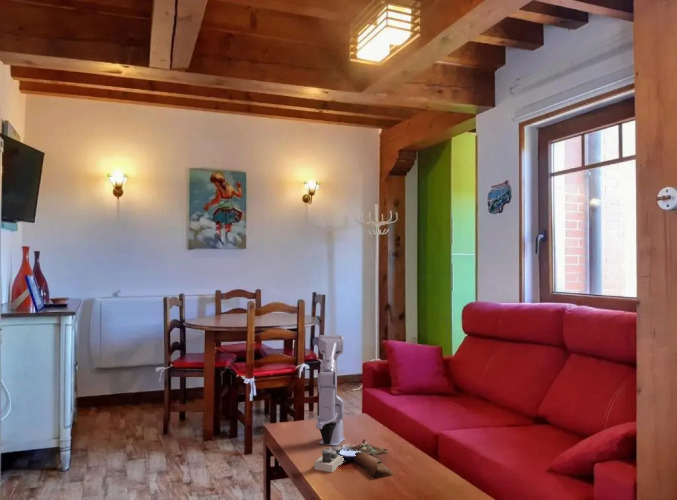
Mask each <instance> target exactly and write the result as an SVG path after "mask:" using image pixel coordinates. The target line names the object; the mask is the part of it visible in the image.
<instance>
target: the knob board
mask: <svg viewBox="0 0 677 500" xmlns="http://www.w3.org/2000/svg"><path fill="white" fill-rule="evenodd" d="M329 449H330V450H332V449H331V448H329ZM343 461H344V458H343V456H340V455H336V458H335V459H331V461H330V462H323V461H322V455H321V456H320V457H319V458H318V459H316V460H315V461H314V462H313V470H315V471H321V470H322V472H326V473H327V472H328V473H334V471H336V468H337V467H338V466H339V465H340V466H341V465H342V464H343V463H344V462H345V461H344V462H343ZM340 466H339V467H340ZM339 467H338V468H339ZM338 468H337V469H338Z"/></svg>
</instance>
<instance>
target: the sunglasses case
mask: <svg viewBox="0 0 677 500" xmlns="http://www.w3.org/2000/svg"><path fill="white" fill-rule="evenodd" d="M354 454H355V455H356V456H355V458H354V460H353V461H354V462H355V463H357V464H358V465H360V466H361V467H362V468H364V469H365V470H366V472H369V474H371V475H372V477H375V479H382V478H386V477H391V476H395V473H394V472H393V471H392V470H391V468H389V467H388V466H387V465H386V464H385V463H383V461H382V460H381V459H379V458H378V457H375V456H373V455H372V454H369V453H366V452H362V451H356V452H355V453H354Z"/></svg>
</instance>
